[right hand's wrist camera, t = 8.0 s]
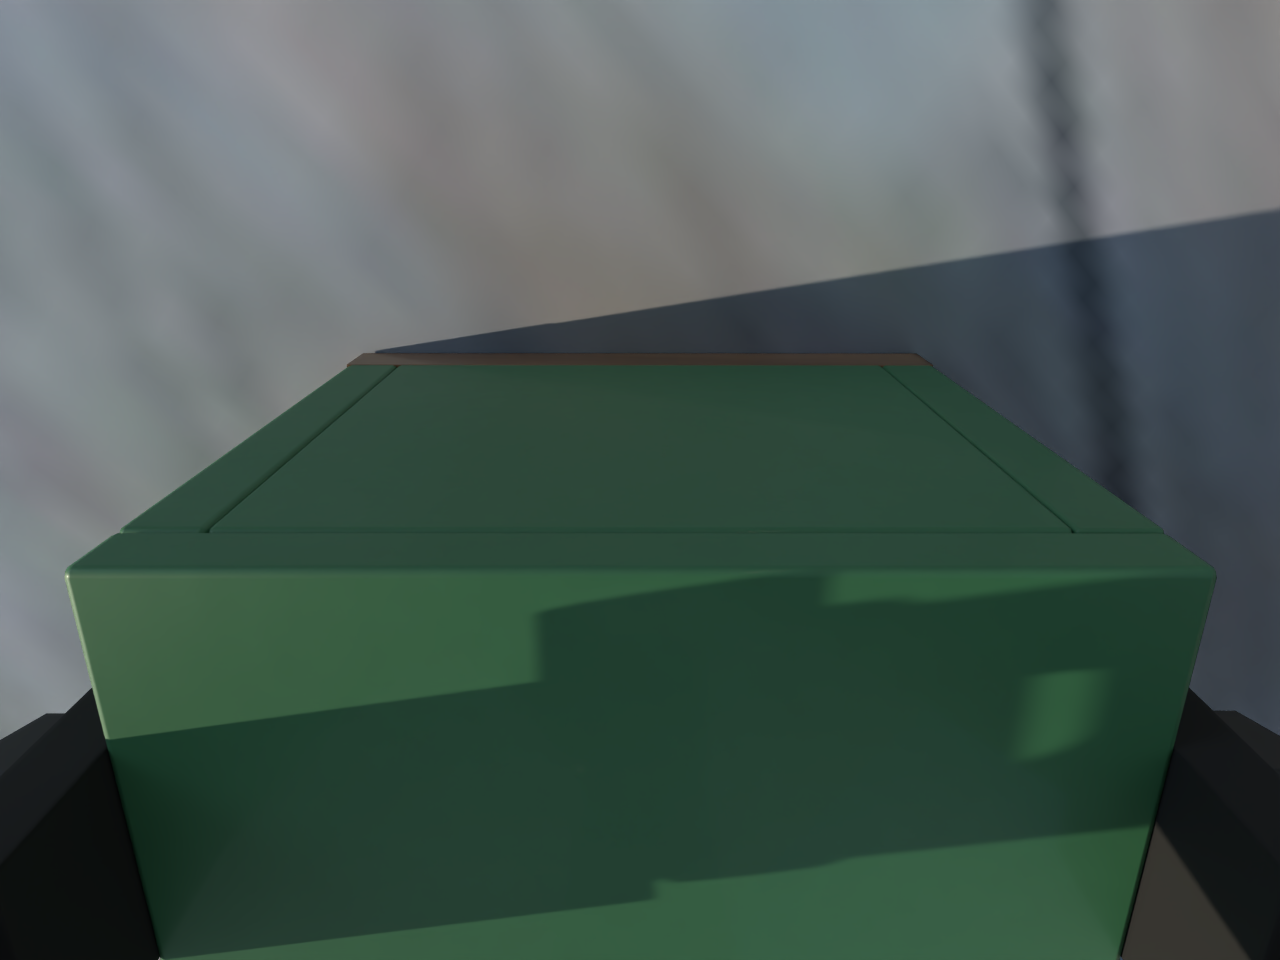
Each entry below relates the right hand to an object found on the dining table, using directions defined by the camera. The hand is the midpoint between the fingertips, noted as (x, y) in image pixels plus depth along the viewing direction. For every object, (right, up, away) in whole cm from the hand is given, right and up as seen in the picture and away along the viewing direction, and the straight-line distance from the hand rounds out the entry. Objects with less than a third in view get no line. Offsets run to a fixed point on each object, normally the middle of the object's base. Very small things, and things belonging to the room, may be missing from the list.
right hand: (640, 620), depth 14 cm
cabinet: (0, -4, +6) cm, 7 cm away
